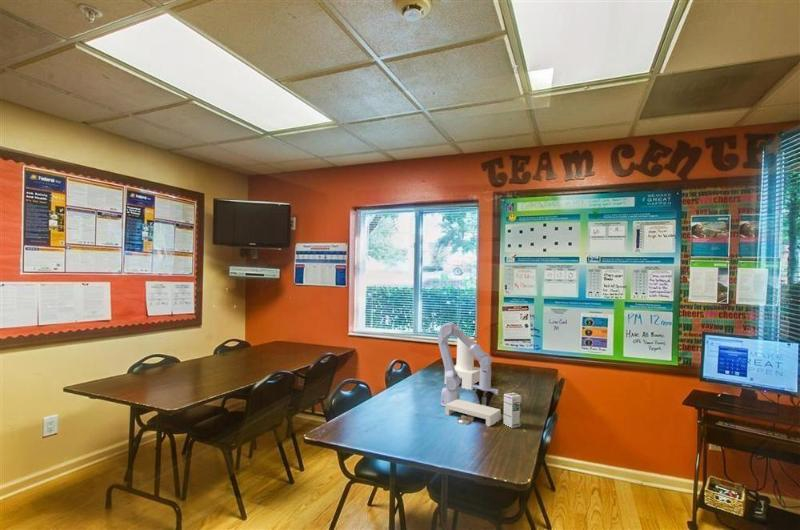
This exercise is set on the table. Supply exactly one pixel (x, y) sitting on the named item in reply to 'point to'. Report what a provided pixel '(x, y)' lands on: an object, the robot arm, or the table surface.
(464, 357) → the white column on base
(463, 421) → the steel disc
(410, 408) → the table surface
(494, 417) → the low shelf
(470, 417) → the gray rectangular block
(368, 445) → the table surface
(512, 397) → the syrup box
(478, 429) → the table surface
